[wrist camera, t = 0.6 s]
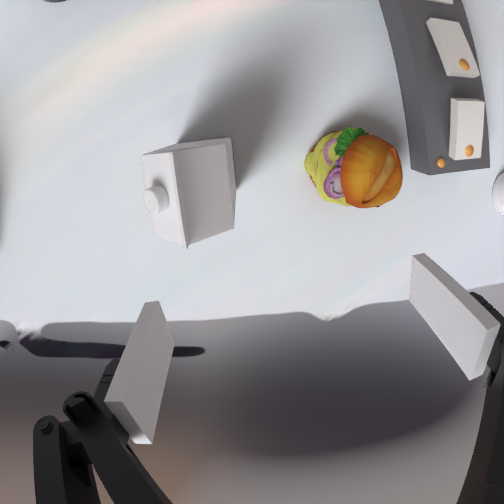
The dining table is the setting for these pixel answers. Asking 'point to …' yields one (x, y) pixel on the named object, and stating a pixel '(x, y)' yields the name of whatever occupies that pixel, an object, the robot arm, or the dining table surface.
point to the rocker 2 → (453, 48)
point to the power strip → (430, 84)
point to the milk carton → (190, 190)
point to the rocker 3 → (466, 128)
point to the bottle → (499, 194)
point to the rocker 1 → (443, 1)
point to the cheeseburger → (355, 168)
